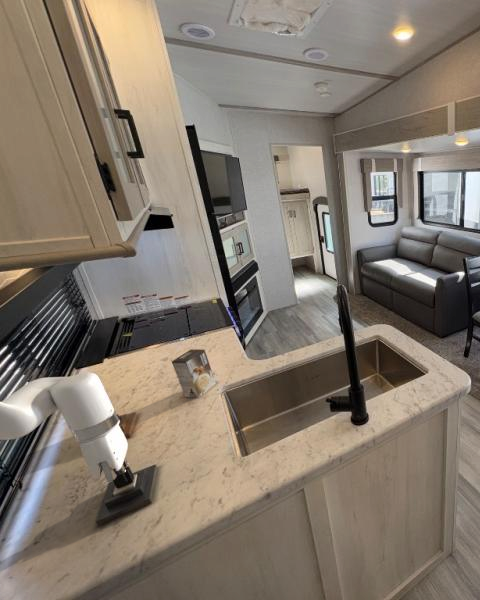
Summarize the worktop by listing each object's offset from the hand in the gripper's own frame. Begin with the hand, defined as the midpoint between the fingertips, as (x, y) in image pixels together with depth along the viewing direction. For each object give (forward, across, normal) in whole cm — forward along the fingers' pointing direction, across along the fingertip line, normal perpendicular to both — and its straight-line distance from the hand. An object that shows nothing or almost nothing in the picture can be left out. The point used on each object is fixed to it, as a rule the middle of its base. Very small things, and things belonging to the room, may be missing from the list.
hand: (125, 483), depth 76 cm
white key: (+2, 0, 0) cm, 2 cm away
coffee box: (+5, -42, +15) cm, 45 cm away
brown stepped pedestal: (+4, -32, -9) cm, 34 cm away
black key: (+1, -32, -9) cm, 33 cm away
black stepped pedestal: (+4, 0, 0) cm, 5 cm away
